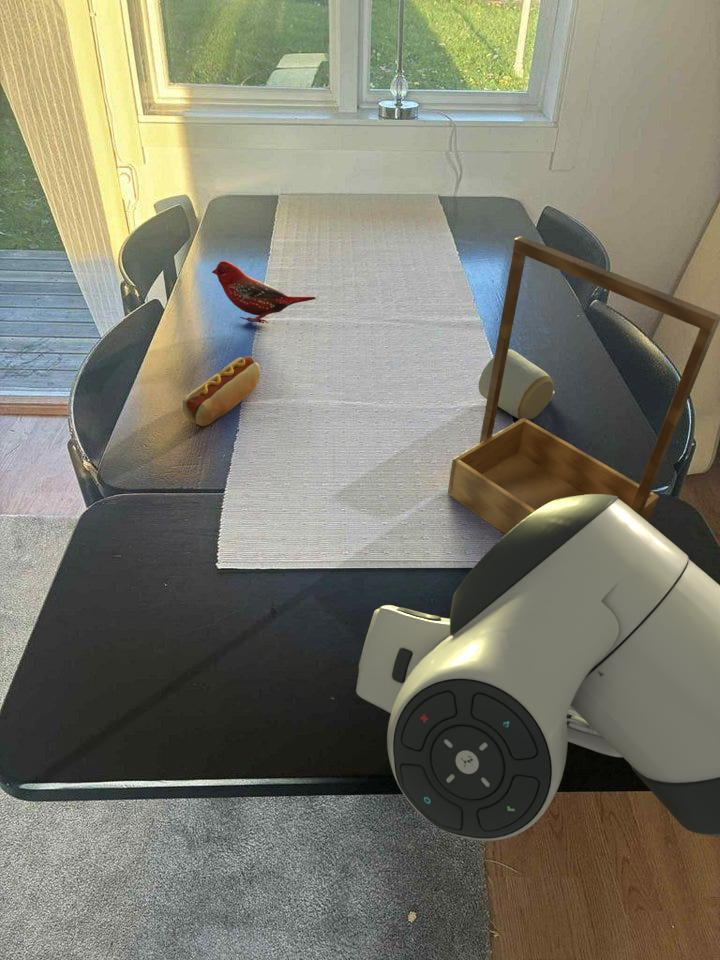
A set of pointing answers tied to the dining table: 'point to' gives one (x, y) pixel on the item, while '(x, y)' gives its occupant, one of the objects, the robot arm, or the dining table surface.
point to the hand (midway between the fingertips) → (500, 661)
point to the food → (222, 391)
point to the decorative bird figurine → (252, 293)
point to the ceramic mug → (520, 386)
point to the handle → (624, 288)
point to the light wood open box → (531, 476)
